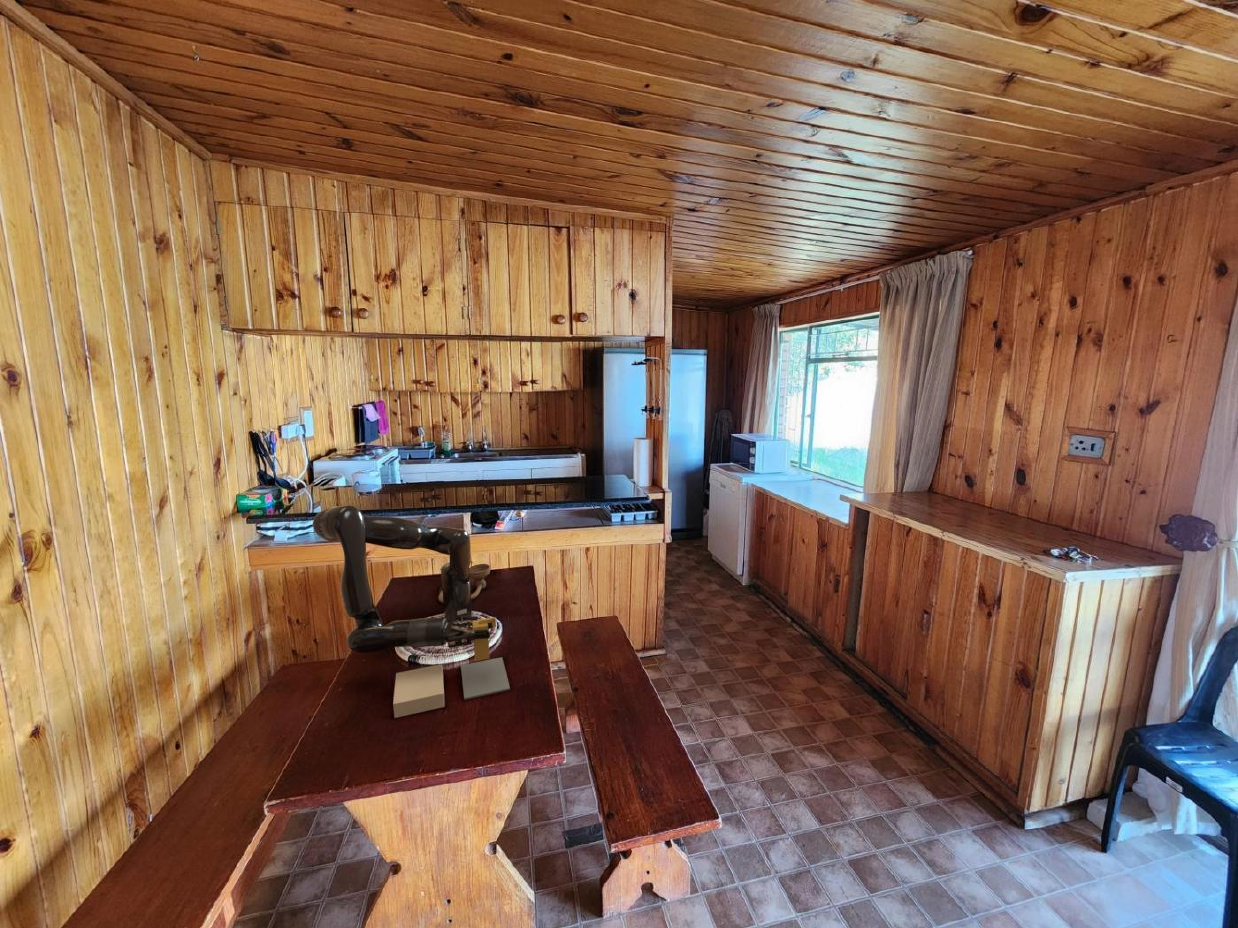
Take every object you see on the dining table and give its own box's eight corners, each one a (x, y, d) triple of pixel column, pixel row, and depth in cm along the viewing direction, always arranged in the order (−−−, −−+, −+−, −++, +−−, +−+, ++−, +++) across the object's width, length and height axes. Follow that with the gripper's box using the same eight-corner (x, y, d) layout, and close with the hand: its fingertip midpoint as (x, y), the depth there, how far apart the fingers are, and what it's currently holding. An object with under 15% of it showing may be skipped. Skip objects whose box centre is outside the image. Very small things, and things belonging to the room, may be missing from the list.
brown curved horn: (434, 610, 186) (486, 604, 187) (430, 588, 184) (483, 582, 186) (449, 583, 209) (496, 577, 211) (446, 563, 208) (493, 558, 209)
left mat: (460, 667, 149) (460, 665, 149) (502, 658, 153) (502, 656, 153) (464, 700, 134) (464, 698, 134) (510, 689, 138) (509, 687, 138)
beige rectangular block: (397, 685, 140) (396, 672, 139) (443, 676, 144) (442, 663, 143) (394, 718, 127) (393, 703, 126) (444, 706, 131) (443, 693, 131)
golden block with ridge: (474, 653, 143) (472, 617, 141) (496, 649, 145) (495, 614, 143) (474, 661, 139) (472, 624, 137) (497, 657, 141) (496, 621, 139)
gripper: (419, 632, 131) (486, 629, 133) (433, 607, 145) (494, 604, 147) (421, 659, 133) (487, 655, 134) (435, 631, 147) (495, 628, 148)
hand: (490, 629), depth 141 cm, fingers closed on golden block with ridge, 4 cm apart
